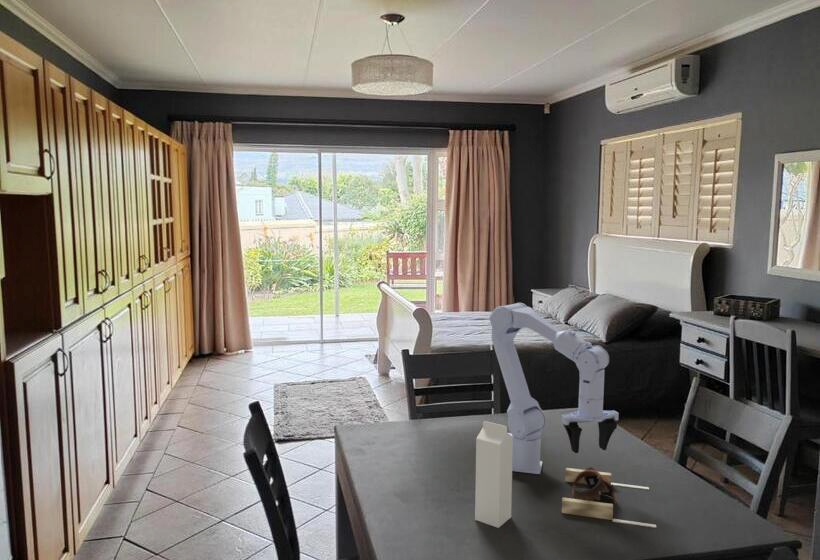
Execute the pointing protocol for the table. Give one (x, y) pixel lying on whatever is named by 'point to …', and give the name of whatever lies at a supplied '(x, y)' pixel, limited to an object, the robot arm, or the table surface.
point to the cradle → (582, 505)
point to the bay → (632, 521)
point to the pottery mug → (592, 486)
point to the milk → (493, 474)
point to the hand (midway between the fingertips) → (588, 450)
